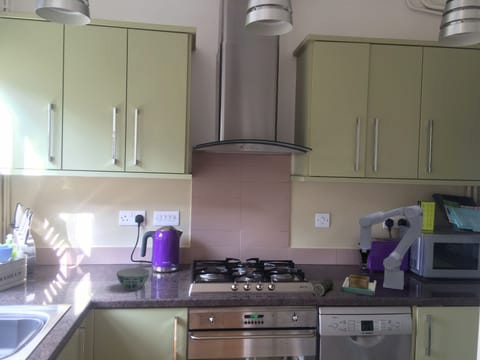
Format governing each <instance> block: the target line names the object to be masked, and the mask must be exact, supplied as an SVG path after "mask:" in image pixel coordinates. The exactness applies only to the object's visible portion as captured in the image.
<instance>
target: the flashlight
mask: <svg viewBox="0 0 480 360" xmlns="http://www.w3.org/2000/svg"><path fill="white" fill-rule="evenodd" d="M334 284H335V283H334V280H332V279H331V278H328V277H327V278H325V279H323V281H320V282H318V283H316V284H314V285H313V287H312V292H313V294H314V296H319V297H321V296H323V295H324V294H325V293H326V292H328V291H329V290H331V289H333V287H334V286H335V285H334Z"/></svg>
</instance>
